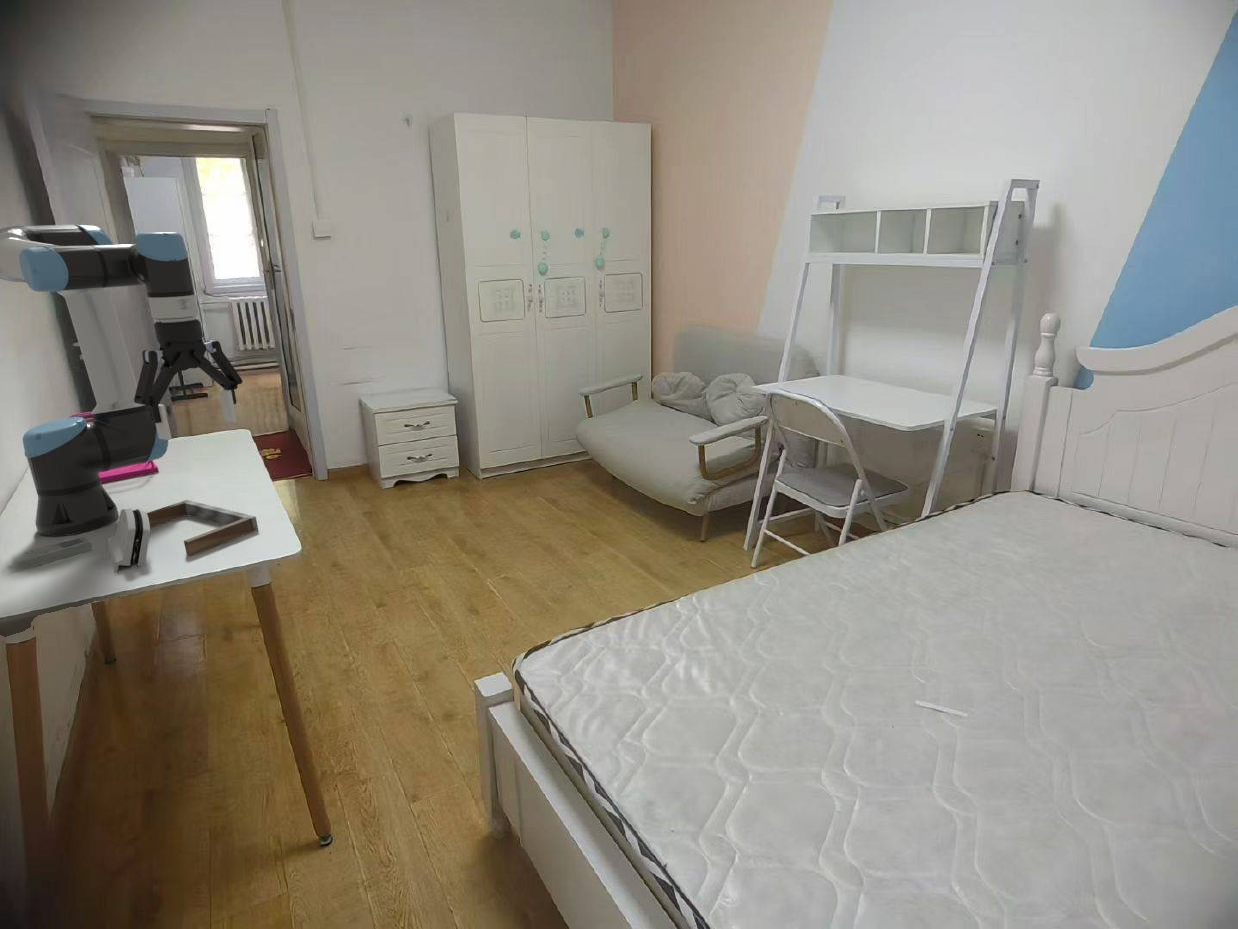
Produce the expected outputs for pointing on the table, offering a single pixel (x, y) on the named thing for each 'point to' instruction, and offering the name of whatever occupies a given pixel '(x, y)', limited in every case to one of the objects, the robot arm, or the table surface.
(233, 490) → the table surface
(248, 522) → the brown u-shaped frame
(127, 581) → the table surface
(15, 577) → the table surface
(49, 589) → the table surface
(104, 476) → the file sorter
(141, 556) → the hinge
